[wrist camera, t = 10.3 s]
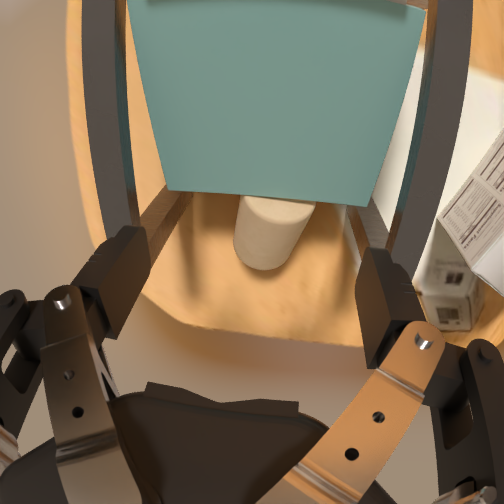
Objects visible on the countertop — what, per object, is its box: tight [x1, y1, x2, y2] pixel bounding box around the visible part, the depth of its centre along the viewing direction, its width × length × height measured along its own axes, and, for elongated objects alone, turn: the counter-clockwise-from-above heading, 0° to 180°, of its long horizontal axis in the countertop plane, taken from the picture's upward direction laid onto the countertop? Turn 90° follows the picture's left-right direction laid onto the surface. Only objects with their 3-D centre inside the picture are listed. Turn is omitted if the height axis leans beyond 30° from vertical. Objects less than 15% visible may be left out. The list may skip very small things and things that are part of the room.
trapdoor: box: [127, 0, 426, 207], centre depth 15 cm, size 17×14×2 cm
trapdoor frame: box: [82, 0, 473, 281], centre depth 19 cm, size 21×19×13 cm
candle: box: [233, 195, 317, 270], centre depth 27 cm, size 6×6×10 cm
